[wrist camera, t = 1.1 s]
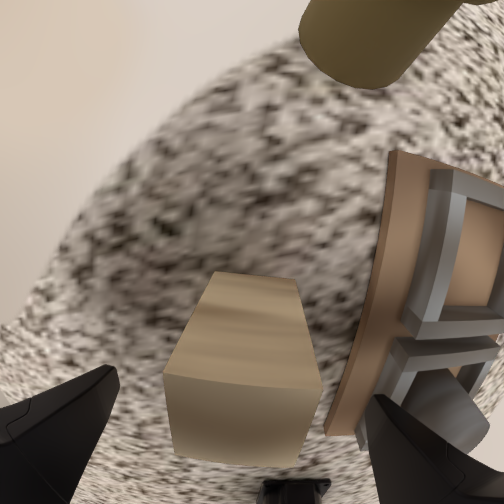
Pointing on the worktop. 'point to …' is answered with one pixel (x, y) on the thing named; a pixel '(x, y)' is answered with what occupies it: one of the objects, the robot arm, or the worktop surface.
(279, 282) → the maple pin
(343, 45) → the olive green peg figure
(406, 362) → the board
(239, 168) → the worktop surface
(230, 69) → the worktop surface
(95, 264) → the worktop surface
